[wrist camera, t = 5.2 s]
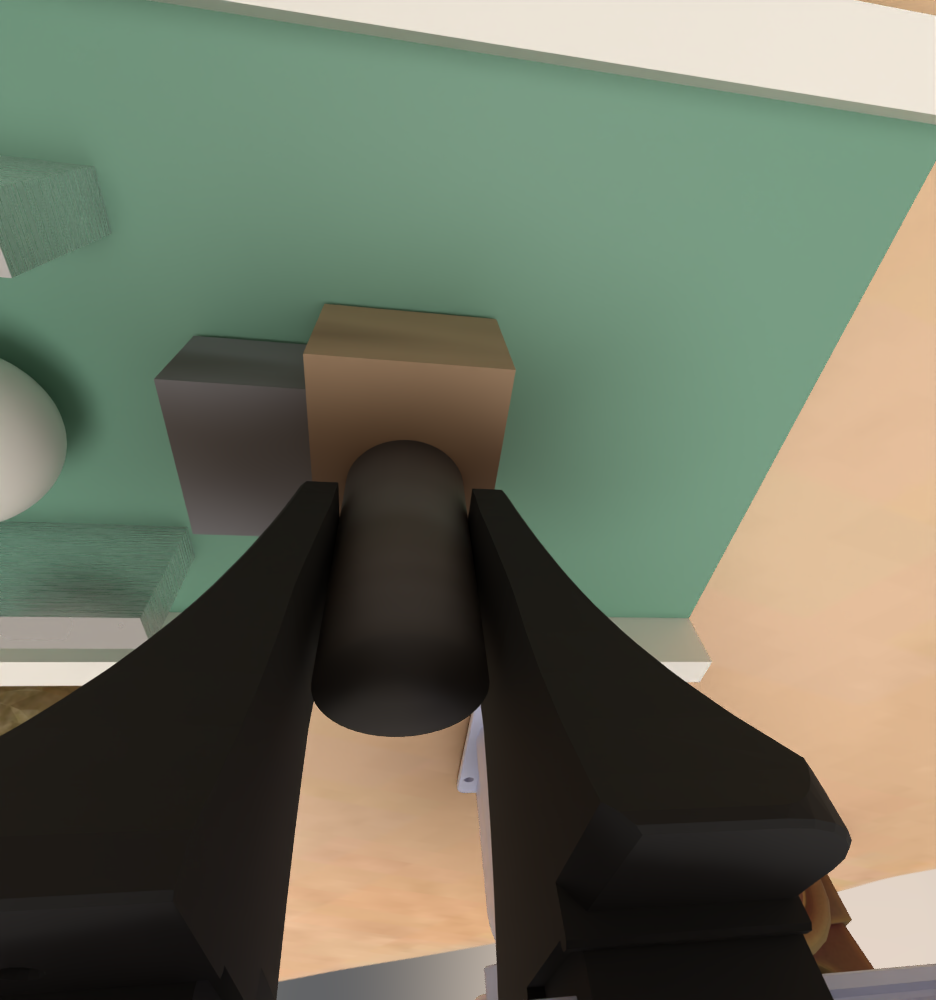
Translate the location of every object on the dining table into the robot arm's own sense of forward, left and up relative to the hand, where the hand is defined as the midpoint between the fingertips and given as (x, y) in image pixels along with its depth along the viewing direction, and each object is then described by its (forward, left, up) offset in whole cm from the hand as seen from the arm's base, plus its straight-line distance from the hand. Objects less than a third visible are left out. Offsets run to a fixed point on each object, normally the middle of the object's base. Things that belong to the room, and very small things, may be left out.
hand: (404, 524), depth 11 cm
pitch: (0, +2, -5) cm, 6 cm away
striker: (0, +2, -4) cm, 4 cm away
